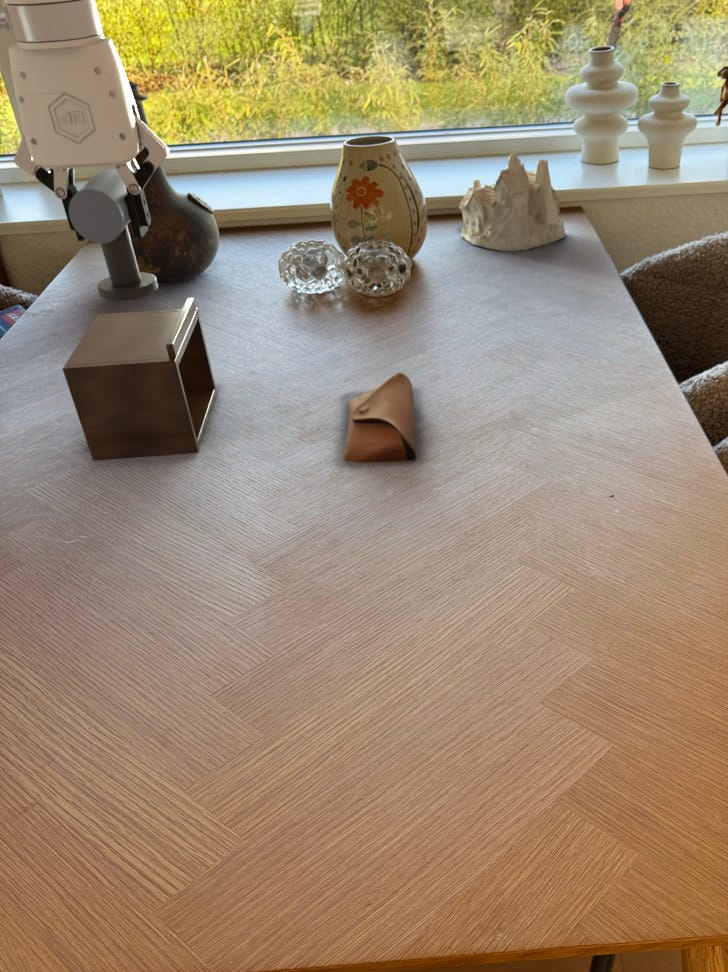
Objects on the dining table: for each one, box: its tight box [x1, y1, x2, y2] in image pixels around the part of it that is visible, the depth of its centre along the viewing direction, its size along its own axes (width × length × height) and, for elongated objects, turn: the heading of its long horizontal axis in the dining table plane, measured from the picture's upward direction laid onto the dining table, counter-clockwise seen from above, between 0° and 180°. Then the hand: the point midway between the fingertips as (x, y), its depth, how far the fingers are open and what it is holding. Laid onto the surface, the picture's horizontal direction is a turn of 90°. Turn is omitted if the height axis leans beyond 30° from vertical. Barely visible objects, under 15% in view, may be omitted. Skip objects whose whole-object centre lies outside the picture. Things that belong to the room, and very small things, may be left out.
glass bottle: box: [127, 81, 220, 285], centre depth 150 cm, size 18×18×28 cm
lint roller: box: [69, 168, 159, 302], centre depth 97 cm, size 6×8×11 cm
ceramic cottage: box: [458, 151, 566, 252], centre depth 163 cm, size 16×16×15 cm
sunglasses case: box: [342, 372, 417, 464], centre depth 110 cm, size 18×7×7 cm
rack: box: [62, 297, 218, 461], centre depth 112 cm, size 12×16×12 cm
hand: (113, 233), depth 97 cm, fingers closed on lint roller, 5 cm apart
